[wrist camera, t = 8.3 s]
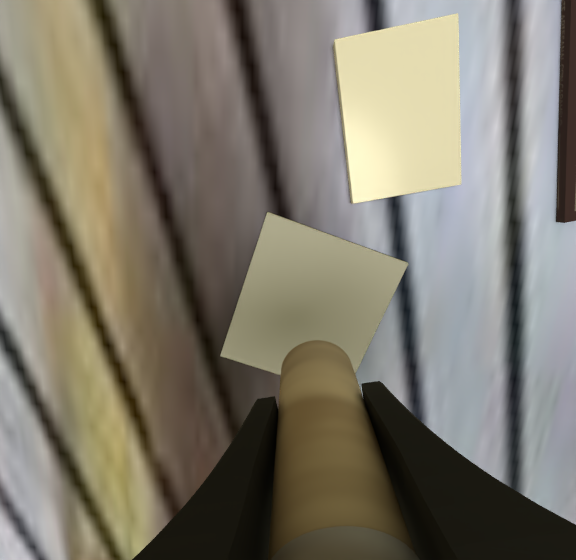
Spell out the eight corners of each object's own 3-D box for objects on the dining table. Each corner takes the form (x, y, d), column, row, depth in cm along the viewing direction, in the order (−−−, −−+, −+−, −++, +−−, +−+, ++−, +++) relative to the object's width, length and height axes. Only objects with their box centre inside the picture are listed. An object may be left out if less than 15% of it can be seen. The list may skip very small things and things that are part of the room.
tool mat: (343, 392, 21) (344, 395, 21) (221, 352, 21) (220, 355, 20) (406, 262, 19) (408, 263, 18) (267, 211, 18) (267, 212, 18)
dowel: (335, 412, 13) (393, 712, 6) (269, 390, 13) (235, 672, 5) (365, 353, 13) (481, 611, 5) (295, 328, 12) (299, 559, 5)
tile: (461, 184, 17) (458, 13, 15) (353, 203, 17) (334, 39, 15) (450, 184, 18) (446, 26, 16) (349, 202, 18) (331, 50, 16)
